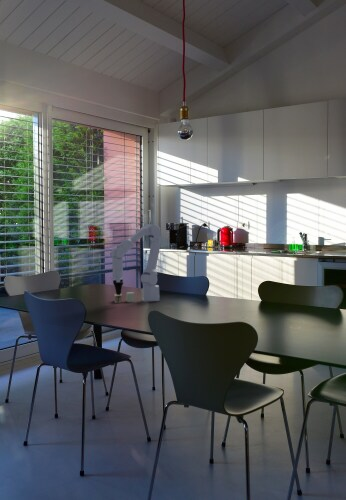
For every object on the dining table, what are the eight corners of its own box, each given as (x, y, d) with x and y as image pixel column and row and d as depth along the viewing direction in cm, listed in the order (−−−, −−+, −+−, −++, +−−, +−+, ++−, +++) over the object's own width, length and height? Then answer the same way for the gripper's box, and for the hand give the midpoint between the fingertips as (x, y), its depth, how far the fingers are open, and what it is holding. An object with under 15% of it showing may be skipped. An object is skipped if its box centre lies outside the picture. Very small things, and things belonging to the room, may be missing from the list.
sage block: (132, 300, 301) (132, 292, 300) (134, 301, 297) (134, 292, 297) (126, 301, 299) (125, 292, 299) (128, 302, 296) (128, 293, 295)
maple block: (121, 302, 295) (121, 300, 301) (121, 295, 294) (121, 293, 301) (114, 302, 294) (114, 300, 301) (114, 295, 294) (114, 293, 301)
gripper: (110, 268, 295) (110, 292, 296) (110, 270, 281) (111, 295, 282) (122, 267, 296) (123, 291, 297) (123, 270, 282) (124, 295, 283)
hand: (118, 293), depth 289 cm, fingers open, 7 cm apart
